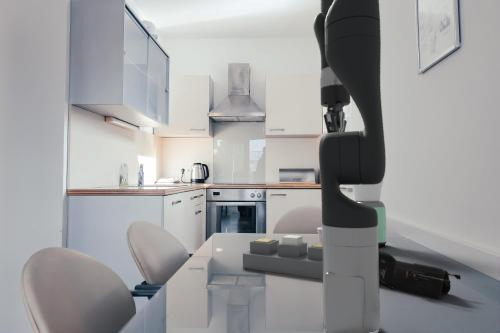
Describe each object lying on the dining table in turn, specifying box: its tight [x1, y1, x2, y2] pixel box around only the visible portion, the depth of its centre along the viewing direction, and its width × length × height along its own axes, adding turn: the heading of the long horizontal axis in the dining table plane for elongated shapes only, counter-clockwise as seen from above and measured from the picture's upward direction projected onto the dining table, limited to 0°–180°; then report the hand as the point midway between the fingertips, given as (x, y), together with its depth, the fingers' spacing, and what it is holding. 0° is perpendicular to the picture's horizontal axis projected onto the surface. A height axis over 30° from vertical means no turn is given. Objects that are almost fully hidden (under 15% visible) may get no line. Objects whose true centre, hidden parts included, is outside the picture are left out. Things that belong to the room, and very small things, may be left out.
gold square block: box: [254, 238, 275, 243], centre depth 101 cm, size 4×4×3 cm
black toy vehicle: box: [378, 249, 462, 300], centre depth 80 cm, size 7×25×8 cm, turn 41°
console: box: [242, 239, 323, 280], centre depth 97 cm, size 12×26×7 cm, turn 60°
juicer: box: [352, 179, 388, 247], centre depth 131 cm, size 19×13×35 cm
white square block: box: [281, 234, 304, 246], centre depth 97 cm, size 4×4×3 cm
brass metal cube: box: [313, 242, 322, 248], centre depth 92 cm, size 4×4×3 cm
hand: (336, 152), depth 88 cm, fingers closed
